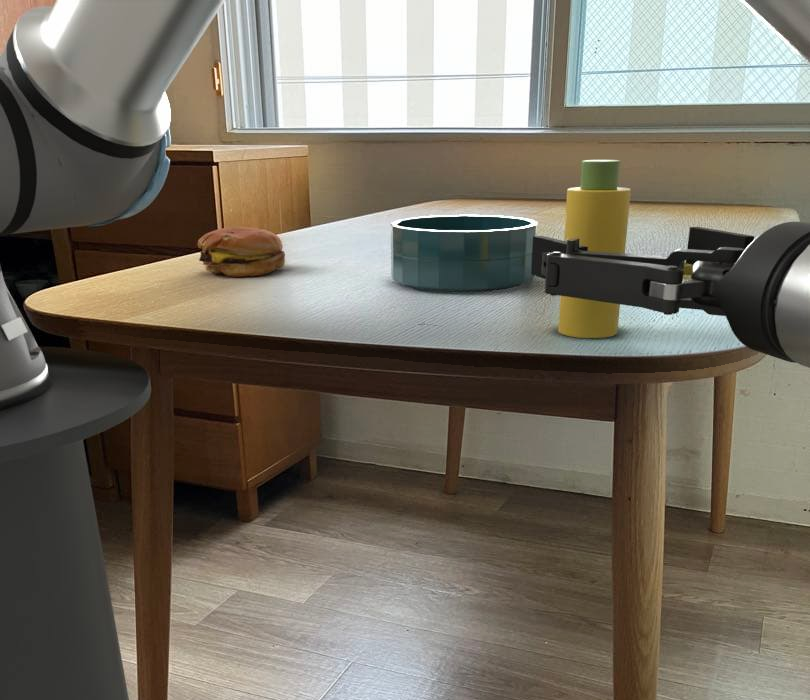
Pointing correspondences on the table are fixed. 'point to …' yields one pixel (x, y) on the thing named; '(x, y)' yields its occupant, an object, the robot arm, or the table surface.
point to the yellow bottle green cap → (595, 242)
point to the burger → (241, 251)
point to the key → (687, 271)
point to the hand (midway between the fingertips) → (616, 249)
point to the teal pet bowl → (462, 252)
